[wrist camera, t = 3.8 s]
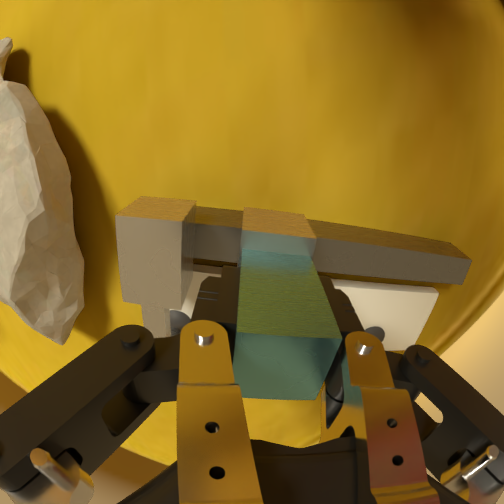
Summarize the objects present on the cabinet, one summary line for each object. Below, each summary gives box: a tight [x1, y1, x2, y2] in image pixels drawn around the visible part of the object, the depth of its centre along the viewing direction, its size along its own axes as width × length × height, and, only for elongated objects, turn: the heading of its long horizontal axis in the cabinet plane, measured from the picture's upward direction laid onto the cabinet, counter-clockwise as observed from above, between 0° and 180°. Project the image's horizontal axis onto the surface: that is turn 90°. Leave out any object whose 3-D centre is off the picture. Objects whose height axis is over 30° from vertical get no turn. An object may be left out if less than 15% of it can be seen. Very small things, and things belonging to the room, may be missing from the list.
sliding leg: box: [232, 207, 342, 400], centre depth 13 cm, size 10×3×9 cm, turn 173°
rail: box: [115, 196, 472, 338], centre depth 17 cm, size 10×22×6 cm, turn 83°
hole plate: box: [170, 264, 439, 351], centre depth 20 cm, size 6×22×1 cm, turn 83°
